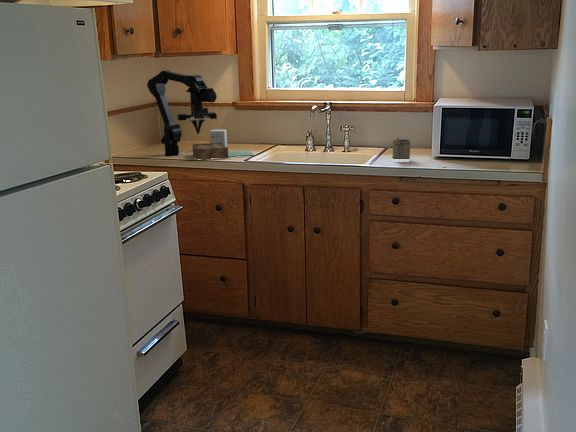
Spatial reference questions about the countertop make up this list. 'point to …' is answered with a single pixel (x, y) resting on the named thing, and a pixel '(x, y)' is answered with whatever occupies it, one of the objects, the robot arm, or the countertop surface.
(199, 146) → the walnut box
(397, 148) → the jerry can
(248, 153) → the cover plate
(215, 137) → the small box
